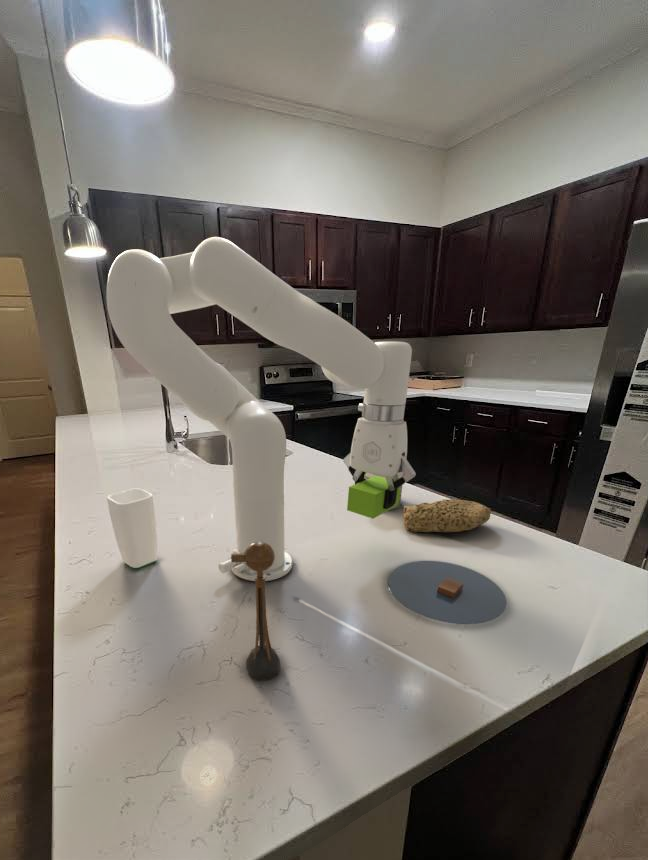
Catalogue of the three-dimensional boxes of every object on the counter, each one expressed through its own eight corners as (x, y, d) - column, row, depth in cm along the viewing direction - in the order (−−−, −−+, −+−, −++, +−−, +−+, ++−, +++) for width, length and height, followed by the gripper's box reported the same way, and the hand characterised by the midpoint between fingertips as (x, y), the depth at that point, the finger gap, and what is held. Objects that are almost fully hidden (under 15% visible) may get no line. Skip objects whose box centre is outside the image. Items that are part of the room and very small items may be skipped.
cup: (147, 549, 93) (137, 486, 87) (165, 561, 88) (155, 495, 82) (116, 561, 88) (103, 496, 82) (133, 574, 83) (120, 505, 77)
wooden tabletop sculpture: (238, 680, 57) (229, 552, 49) (239, 656, 62) (232, 534, 54) (281, 679, 57) (279, 550, 49) (279, 655, 62) (277, 533, 54)
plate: (480, 644, 63) (481, 641, 63) (366, 593, 76) (366, 590, 76) (521, 589, 76) (522, 586, 76) (417, 553, 89) (418, 550, 89)
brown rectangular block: (453, 598, 73) (454, 592, 72) (436, 592, 75) (437, 586, 74) (462, 589, 75) (463, 583, 75) (446, 582, 77) (447, 577, 77)
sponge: (406, 542, 96) (502, 533, 90) (402, 509, 94) (499, 498, 89) (403, 528, 108) (488, 519, 103) (400, 499, 107) (485, 488, 101)
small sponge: (373, 518, 80) (375, 494, 78) (347, 510, 84) (348, 486, 82) (398, 504, 87) (401, 481, 85) (373, 497, 90) (375, 475, 89)
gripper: (333, 409, 81) (328, 497, 88) (417, 422, 70) (404, 520, 77) (355, 405, 86) (348, 488, 93) (436, 416, 75) (422, 509, 82)
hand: (373, 501), depth 85 cm, fingers closed on small sponge, 6 cm apart
